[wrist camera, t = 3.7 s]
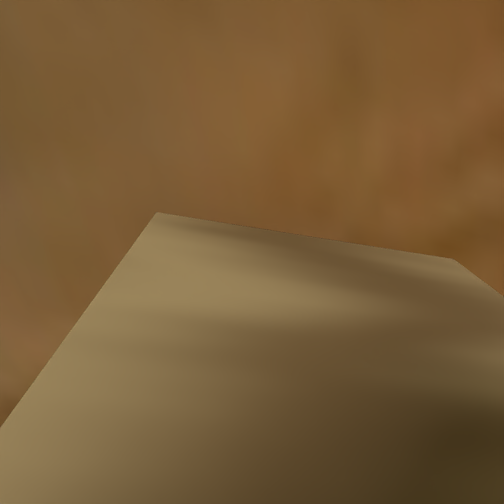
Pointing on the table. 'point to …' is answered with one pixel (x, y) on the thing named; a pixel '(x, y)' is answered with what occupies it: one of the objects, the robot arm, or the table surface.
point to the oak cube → (267, 379)
